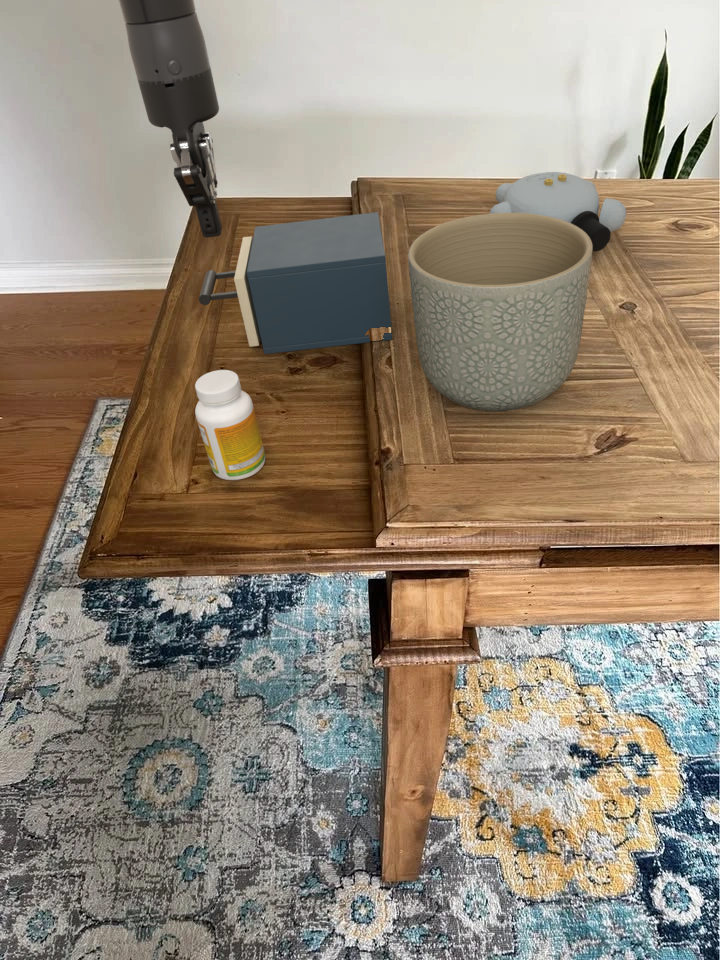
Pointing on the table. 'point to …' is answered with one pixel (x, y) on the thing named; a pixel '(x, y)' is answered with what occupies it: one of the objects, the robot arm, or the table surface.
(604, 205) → the figurine
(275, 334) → the cabinet
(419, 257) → the planter
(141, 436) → the table surface
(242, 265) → the drawer
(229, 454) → the supplement bottle
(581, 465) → the table surface
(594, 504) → the table surface
